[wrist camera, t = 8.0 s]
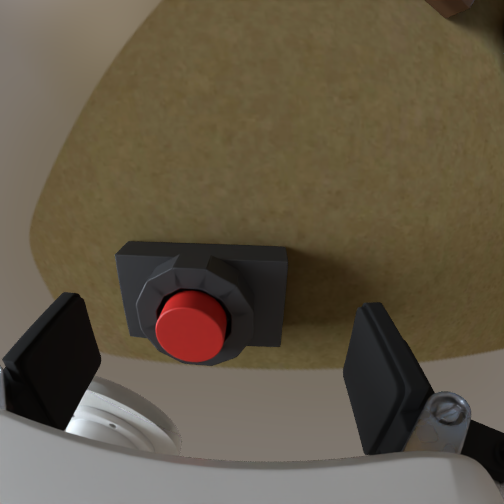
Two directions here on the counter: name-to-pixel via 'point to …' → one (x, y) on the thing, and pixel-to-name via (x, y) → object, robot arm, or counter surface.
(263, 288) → the button box
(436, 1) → the base
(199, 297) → the button
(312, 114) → the counter surface
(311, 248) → the counter surface
